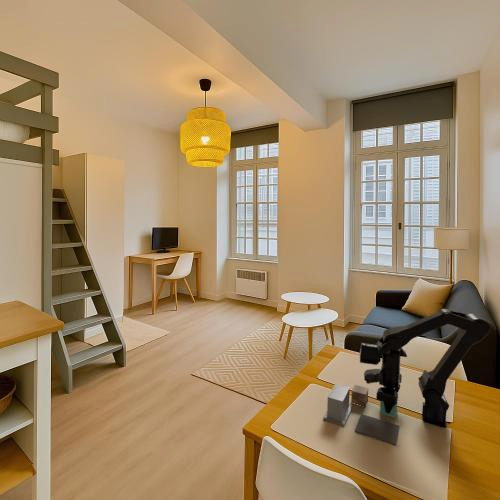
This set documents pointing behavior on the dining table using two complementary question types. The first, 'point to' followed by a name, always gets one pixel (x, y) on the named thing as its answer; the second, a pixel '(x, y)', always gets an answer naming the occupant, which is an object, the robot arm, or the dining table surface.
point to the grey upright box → (338, 405)
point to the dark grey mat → (377, 429)
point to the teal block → (383, 411)
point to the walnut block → (359, 395)
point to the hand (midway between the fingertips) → (388, 408)
